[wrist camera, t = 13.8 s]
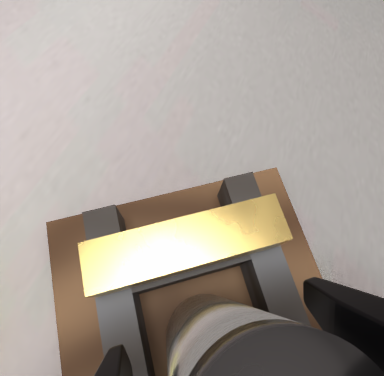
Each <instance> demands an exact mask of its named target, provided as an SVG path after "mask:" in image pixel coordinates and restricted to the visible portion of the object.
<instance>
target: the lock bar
mask: <svg viewBox="0 0 384 376" xmlns="http://www.w3.org/2000/svg"><path fill="white" fill-rule="evenodd" d="M292 239H293V237H292V234H291V232H290V229H289V227H288V224H287V222H286V219H285V217H284V214H283V212H282V209H281V207H280V204H279V202H278V199H277V197H276V194H275V193H274V194H270V195H266V196H262V197H258V198H254V199H250V200H246V201H242V202H238V203H234V204H230V205H226V206H222V207H218V208H214V209H210V210H206V211H202V212H198V213H194V214H190V215H186V216H182V217H179V218H175V219H171V220H167V221H163V222H159V223H155V224H151V225H147V226H143V227H139V228H135V229H131V230H127V231H123V232H119V233H115V234H111V235H107V236H103V237H99V238H95V239H91V240H87V241H84V242H80V243H78V250H79V257H80V264H81V271H82V279H83V286H84V293H85V297H96V298H97V297H100V296H104V295H107V294H111V293H115V292H118V291H122V290H125V289H129V288H132V287H136V286H139V285H143V284H146V283H150V282H154V281H157V280H161V279H164V278H168V277H171V276H175V275H178V274H182V273H185V272H189V271H193V270H196V269H200V268H203V267H207V266H210V265H214V264H217V263H221V262H224V261H228V260H232V259H235V258H239V257H242V256H246V255H249V254H253V253H256V252H260V251H263V250H267V249H271V248H274V247H278V246H280V245H282V244H284V243H286V242H288V241H290V240H292Z"/></svg>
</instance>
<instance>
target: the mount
mask: <svg viewBox="0 0 384 376" xmlns="http://www.w3.org/2000/svg"><path fill="white" fill-rule="evenodd" d="M274 193H275V194H276V197H277V199H278V202H279V204H280V207H281V209H282V212H283V214H284V217H285V219H286V222H287V224H288V227H289V229H290V232H291V234H292V237H293V239H292V240H290V241H288V242H286V243H284V244H282V245H280V246H278V247H274V248H271V249H267V250H263V251H260V252H256V253H253V254H249V255H246V256H242V257H239V258H235V259H232V260H228V261H224V262H221V263H217V264H214V265H210V266H207V267H203V268H200V269H196V270H193V271H189V272H185V273H182V274H178V275H175V276H171V277H168V278H164V279H161V280H157V281H154V282H150V283H146V284H143V285H139V286H136V287H132V288H129V289H125V290H122V291H118V292H115V293H111V294H107V295H104V296H100V297H97V298H96V297H85V293H84V286H83V279H82V271H81V264H80V257H79V250H78V243H80V242H84V241H87V240H91V239H95V238H99V237H103V236H107V235H111V234H115V233H119V232H123V231H127V230H131V229H135V228H139V227H143V226H147V225H151V224H155V223H159V222H163V221H167V220H171V219H175V218H179V217H182V216H186V215H190V214H194V213H198V212H202V211H206V210H210V209H214V208H218V207H222V206H226V205H230V204H234V203H238V202H242V201H246V200H250V199H254V198H258V197H262V196H266V195H270V194H274ZM46 225H47V234H48V244H49V254H50V263H51V273H52V282H53V292H54V302H55V311H56V321H57V330H58V340H59V349H60V359H61V369H62V376H94V374H95V373H96V371H97V369H98V367H99V365H100V364H101V362H102V360H103V358H104V356H105V355H106V353H107V351H108V350H109V348H111V347H114V346H117V345H120V344H122V345H124V347H125V350H126V352H127V354H128V357H129V359H130V362H131V366H132V372H133V376H168V371H167V352H166V331H167V326H168V323H169V320H170V318H171V316H172V314H173V312H174V311H175V309H176V308H177V307H178V306H179V305H180V304H181V303H182V302H183V301H185V300H186V299H188V298H190V297H192V296H195V295H198V294H214V295H217V296H220V297H223V298H227V299H230V300H233V301H236V302H239V303H242V304H245V305H248V306H251V307H254V308H257V309H260V310H263V311H266V312H269V313H272V314H275V315H278V316H281V317H284V318H287V319H290V320H293V321H296V322H299V323H302V324H305V325H308V326H311V327H314V328H317V329H320V330H322V328H321V327H320V326H319V324H318V323H317V321H316V320H315V318H314V317H313V315H312V314H311V313H310V311H309V310H308V308H307V307H306V305H305V302H304V299H303V282H304V280H306V279H309V278H312V277H318V278H321V279H322V277H321V274H320V272H319V269H318V267H317V265H316V262H315V260H314V257H313V255H312V252H311V250H310V248H309V245H308V243H307V240H306V238H305V236H304V233H303V231H302V228H301V226H300V223H299V221H298V219H297V216H296V214H295V211H294V209H293V207H292V204H291V202H290V199H289V197H288V194H287V192H286V190H285V187H284V185H283V182H282V180H281V177H280V175H279V173H278V170H277V168H272V169H268V170H264V171H260V172H256V173H253V172H250V173H246V174H242V175H237V176H233V177H229V178H225V179H224V180H222V181H218V182H214V183H209V184H205V185H201V186H197V187H193V188H189V189H184V190H180V191H176V192H172V193H168V194H163V195H159V196H155V197H151V198H147V199H143V200H138V201H134V202H130V203H126V204H122V205H117V206H116V205H111V206H107V207H103V208H99V209H95V210H90V211H86V212H82V214H80V215H76V216H71V217H67V218H63V219H59V220H55V221H50V222H46Z"/></svg>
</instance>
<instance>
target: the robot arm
mask: <svg viewBox="0 0 384 376" xmlns="http://www.w3.org/2000/svg"><path fill="white" fill-rule="evenodd" d="M303 299H304V302H305V305H306V307H307V308H308V310H309V311H310V313H311V314H312V315H313V317H314V318H315V320H316V321H317V323H318V324H319V326H320V327H321V328H322V330H323V331H326V332H328V333H331V334H333V335H336V336H338V337H340V338H342V339H344V340H345V341H347V342H349V343H351V344H352V345H354V346H355V347H356V348H358V349H359V350H360V351H362V352H363V353H364V354H366V355H367V356H368V357H369V358H370V359H371V360H372V361H373V362H374V363H375V364H376V365H377V366H378V367H379V368H380V369H381V370H382V372H383V373H384V298H381V297H378V296H375V295H372V294H369V293H365V292H362V291H359V290H356V289H353V288H350V287H346V286H343V285H340V284H337V283H334V282H331V281H327V280H324V279H321V278H318V277H312V278H309V279H306V280H304V282H303ZM94 376H133V372H132V366H131V362H130V359H129V357H128V354H127V352H126V350H125V347H124V345H122V344H120V345H117V346H114V347H111V348H109V350H108V351H107V353H106V355H105V356H104V358H103V360H102V362H101V364H100V365H99V367H98V369H97V371H96V373H95V374H94Z"/></svg>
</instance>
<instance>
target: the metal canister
mask: <svg viewBox="0 0 384 376" xmlns="http://www.w3.org/2000/svg"><path fill="white" fill-rule="evenodd" d="M166 352H167V371H168V376H384V373H383V372H382V370H381V369H380V368H379V367H378V366H377V365H376V364H375V363H374V362H373V361H372V360H371V359H370V358H369V357H368V356H367V355H366V354H364V353H363V352H362V351H360V350H359V349H358V348H356V347H355V346H354V345H352V344H351V343H349V342H347V341H345V340H344V339H342V338H340V337H338V336H336V335H333V334H331V333H328V332H326V331H323V330H320V329H317V328H314V327H311V326H308V325H305V324H302V323H299V322H296V321H293V320H290V319H287V318H284V317H281V316H278V315H275V314H272V313H269V312H266V311H263V310H260V309H257V308H254V307H251V306H248V305H245V304H242V303H239V302H236V301H233V300H230V299H227V298H223V297H220V296H217V295H214V294H198V295H195V296H192V297H190V298H188V299H186V300H185V301H183V302H182V303H181V304H180V305H179V306H178V307H177V308H176V309H175V311H174V312H173V314H172V316H171V318H170V320H169V323H168V326H167V331H166Z"/></svg>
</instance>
